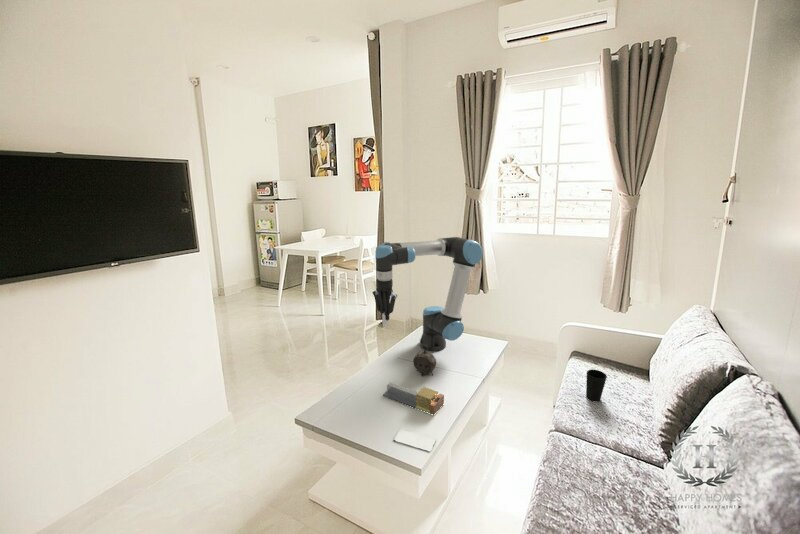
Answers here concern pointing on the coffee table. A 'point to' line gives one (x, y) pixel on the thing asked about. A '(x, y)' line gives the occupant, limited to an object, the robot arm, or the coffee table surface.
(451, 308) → the robot arm
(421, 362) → the alarm clock
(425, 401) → the clip
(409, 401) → the rail
